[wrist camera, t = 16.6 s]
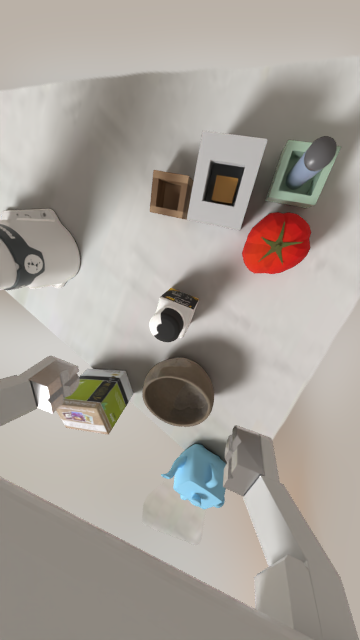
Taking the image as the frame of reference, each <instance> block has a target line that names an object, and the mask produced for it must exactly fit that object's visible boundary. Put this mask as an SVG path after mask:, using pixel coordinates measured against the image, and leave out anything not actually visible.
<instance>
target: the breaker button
mask: <svg viewBox="0 0 360 640" xmlns="http://www.w3.org/2000/svg"><path fill="white" fill-rule="evenodd" d="M237 185H238V178H232V177H226V176H220V175H217V177H216V181H215V186H214V190H213V195H212V199H211V200H212V201H213V202H216V203H222V204H227V205H232V203H233V200H234V196H235V192H236V189H237Z"/></svg>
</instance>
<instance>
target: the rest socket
mask: <svg viewBox="0 0 360 640" xmlns="http://www.w3.org/2000/svg"><path fill="white" fill-rule="evenodd" d="M311 144H312V143H310V142H302V141H294V140H288V141H287V143H286V145H285V147H284V149H283V150H282V153H281V156H280V159H279V162H278V165H277V168H276V171H275V174H274V177H273V180H272V183H271V186H270V189H269V192H268V195H267V197H266V200H265V201H270V202H276V203H281V204H287V205H292V206H298V207H303V208H308V207H311V206H314V205H315V204H316V202H317V200H318V197H319V195H320V193H321V191H322V189H323V186H324V184H325V182H326V180H327V177H328V175H329V173H330V171H331V168H332V166H333V164H334V162H335V160H336V157H337V155H338V153H339V151H340V148H341V146H337V149H336V154H335V156H334V158H333V160H332V161H331V162H330V163H329V164H328V165H327V166H326V167H324V168H323V169H322V170H321V171H319V172H318V173H317V174H316V175H314V176H313V177H312V178H311V179H309V180H308V181H307V182H306V183H304V184H303V185H302V186H301V187H299V188H297V189H290V188H288V187H287V185H286V177H287V175H288V173H289V172H290V171H291V169H292V168H293V167H294V166H295V164H296V163H297V162H298V161H299V159H300V158H301V157H302V156H303V154H304V153H305V152H306V150H307V149H308V148H309V147H310V145H311Z"/></svg>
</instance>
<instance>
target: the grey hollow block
mask: <svg viewBox="0 0 360 640" xmlns="http://www.w3.org/2000/svg"><path fill="white" fill-rule="evenodd" d="M267 140H268V139H264V138H256V137H248V136H241V135H233V134H226V133H218V132H210V131H202V136H201V142H200V148H199V153H198V159H197V165H196V170H195V176H194V181H193V187H192V193H191V198H190V204H189V209H188V215H187V220H191V221H196V222H201V223H205V224H210V225H215V226H220V227H224V228H229V229H234V230H239V231H240V229H241V226H242V222H243V219H244V216H245V212H246V209H247V206H248V202H249V199H250V196H251V193H252V189H253V186H254V183H255V179H256V176H257V173H258V170H259V166H260V163H261V160H262V156H263V153H264V150H265V147H266V143H267ZM217 175H220V176H226V177H232V178H238V185H237V189H236V192H235V196H234V200H233V203H232V205H227V204H222V203H216V202H213V201H212V200H211V199H212V195H213V190H214V186H215V181H216V177H217Z"/></svg>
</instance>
